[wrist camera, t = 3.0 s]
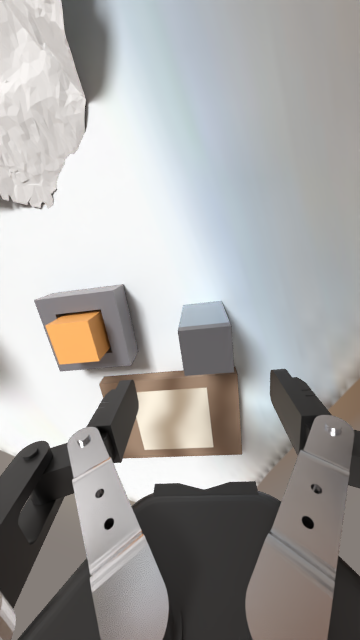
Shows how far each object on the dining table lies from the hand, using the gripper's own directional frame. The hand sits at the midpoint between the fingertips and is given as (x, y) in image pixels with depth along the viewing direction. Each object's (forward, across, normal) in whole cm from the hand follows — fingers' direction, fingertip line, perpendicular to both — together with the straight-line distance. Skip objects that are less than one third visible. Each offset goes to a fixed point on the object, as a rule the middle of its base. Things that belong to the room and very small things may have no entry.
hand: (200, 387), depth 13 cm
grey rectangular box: (+12, -1, 0) cm, 12 cm away
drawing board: (+12, +4, +12) cm, 17 cm away
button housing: (+12, +11, -1) cm, 16 cm away
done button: (+10, +11, -1) cm, 15 cm away
